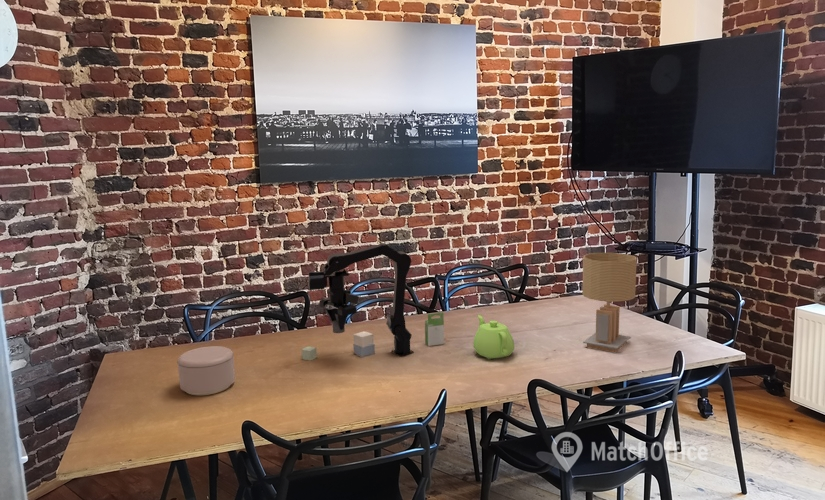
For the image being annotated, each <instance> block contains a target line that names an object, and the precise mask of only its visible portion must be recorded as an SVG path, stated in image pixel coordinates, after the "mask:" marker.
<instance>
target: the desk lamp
mask: <svg viewBox="0 0 825 500" xmlns="http://www.w3.org/2000/svg"><path fill="white" fill-rule="evenodd" d="M637 261H638V257H636V256H635V255H631V254H627V253H618V252H592V253H587V254H585V255H583V257H582V288H581V289H582V296H583V297H584V298H587V299H589V300H594V301H595V300H596V301H600V302H606V304H603V306H601V307H599V309H596V313H595V315H596V316H595V333H593V334H592V335H590V336H589V337H588V338H586V339H584V340H583V341H582V343H583V344H586V348H588V349H589V348H590V349H595V350H601V351H605V352H610V353H617V352H618V351H619V350H620V349H622V348H623V347H624V346H625V345H626V344H627V343H628V342H629V340H630V339H631V338H632V336H628V335H622V334H620V309H621V306H618V305H611V302H617V303H618V302H628V301H631V300H634V299H635V298H636V291H637V289H636V285H637V265H638V264H637Z"/></svg>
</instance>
